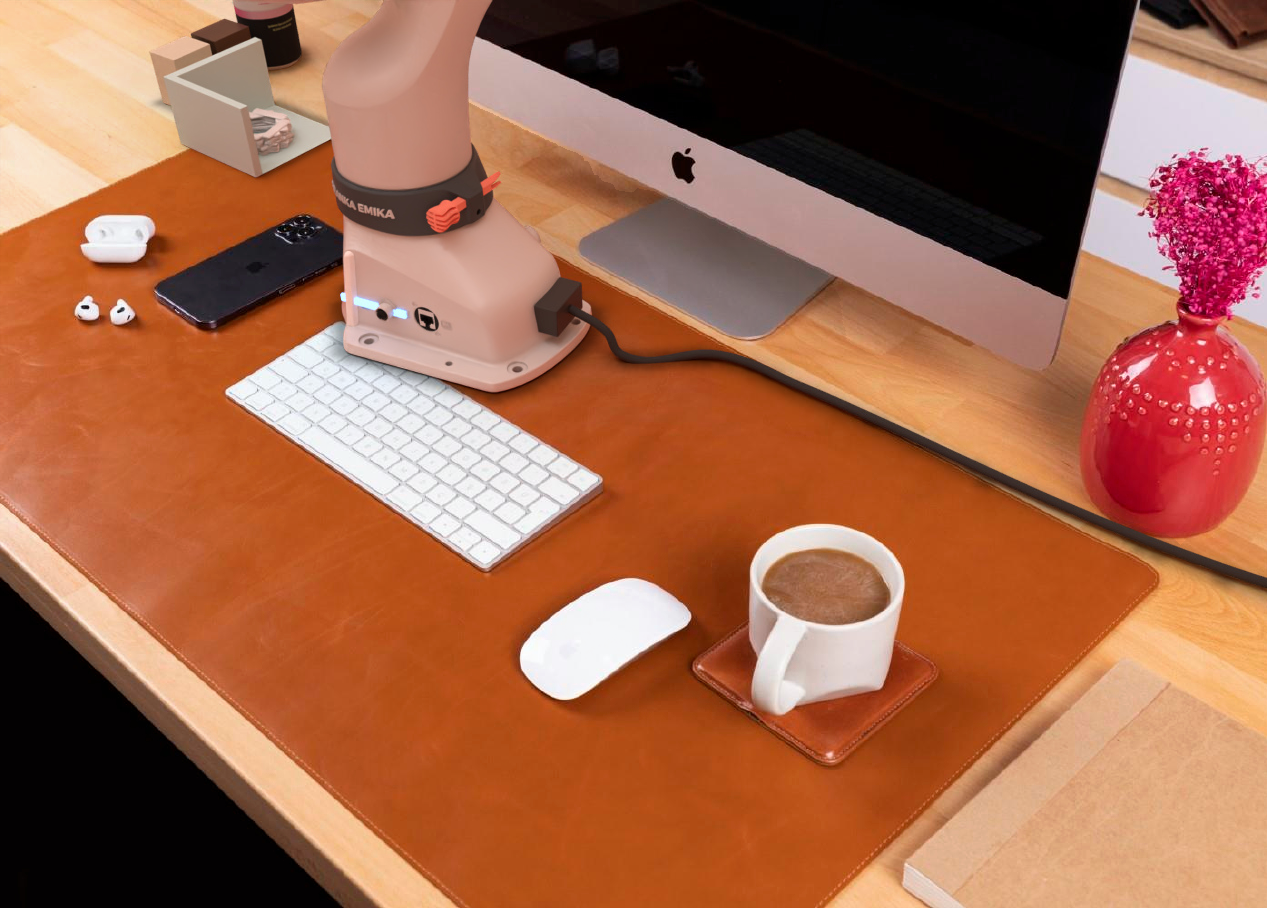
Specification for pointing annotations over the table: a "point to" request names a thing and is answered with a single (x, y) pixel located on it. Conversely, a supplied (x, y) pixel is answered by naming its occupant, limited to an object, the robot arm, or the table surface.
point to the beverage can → (272, 30)
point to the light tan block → (177, 59)
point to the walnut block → (222, 35)
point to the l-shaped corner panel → (238, 112)
